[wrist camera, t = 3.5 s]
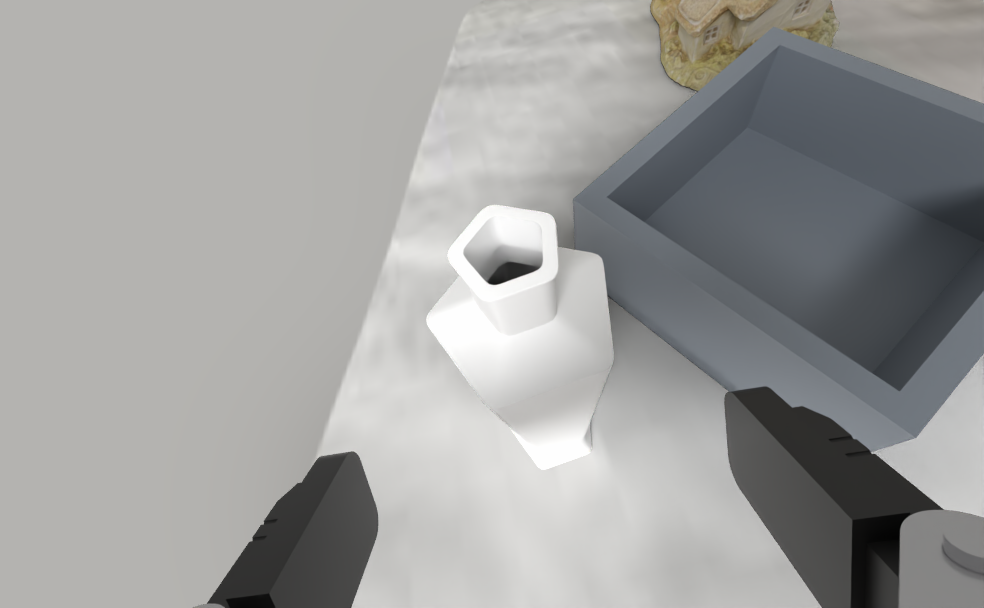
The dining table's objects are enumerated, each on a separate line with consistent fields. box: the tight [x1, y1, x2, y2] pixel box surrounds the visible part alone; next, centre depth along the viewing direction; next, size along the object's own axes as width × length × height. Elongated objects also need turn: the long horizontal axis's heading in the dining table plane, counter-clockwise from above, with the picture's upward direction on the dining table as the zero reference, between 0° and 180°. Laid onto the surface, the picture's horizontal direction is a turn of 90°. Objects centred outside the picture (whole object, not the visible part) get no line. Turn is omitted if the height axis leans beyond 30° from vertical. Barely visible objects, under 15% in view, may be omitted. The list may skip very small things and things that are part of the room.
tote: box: [573, 27, 984, 452], centre depth 21 cm, size 14×14×6 cm
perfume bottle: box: [426, 205, 614, 469], centre depth 15 cm, size 5×4×15 cm
